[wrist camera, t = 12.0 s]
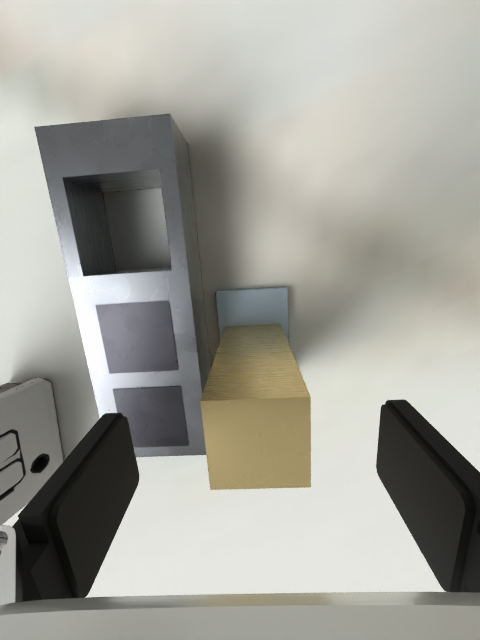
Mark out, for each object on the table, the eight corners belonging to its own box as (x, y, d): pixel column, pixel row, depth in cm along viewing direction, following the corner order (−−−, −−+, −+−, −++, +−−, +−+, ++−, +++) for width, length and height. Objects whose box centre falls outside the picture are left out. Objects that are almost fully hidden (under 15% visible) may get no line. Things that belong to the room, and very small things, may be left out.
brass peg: (224, 326, 20) (200, 401, 10) (280, 323, 19) (310, 396, 10) (228, 377, 21) (210, 489, 11) (281, 374, 20) (310, 487, 11)
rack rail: (81, 153, 18) (33, 126, 14) (187, 144, 17) (169, 113, 13) (132, 422, 23) (108, 458, 19) (216, 419, 22) (208, 455, 18)
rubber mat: (216, 291, 20) (215, 292, 19) (286, 286, 19) (287, 287, 19) (226, 402, 22) (226, 406, 21) (289, 399, 22) (290, 403, 21)
